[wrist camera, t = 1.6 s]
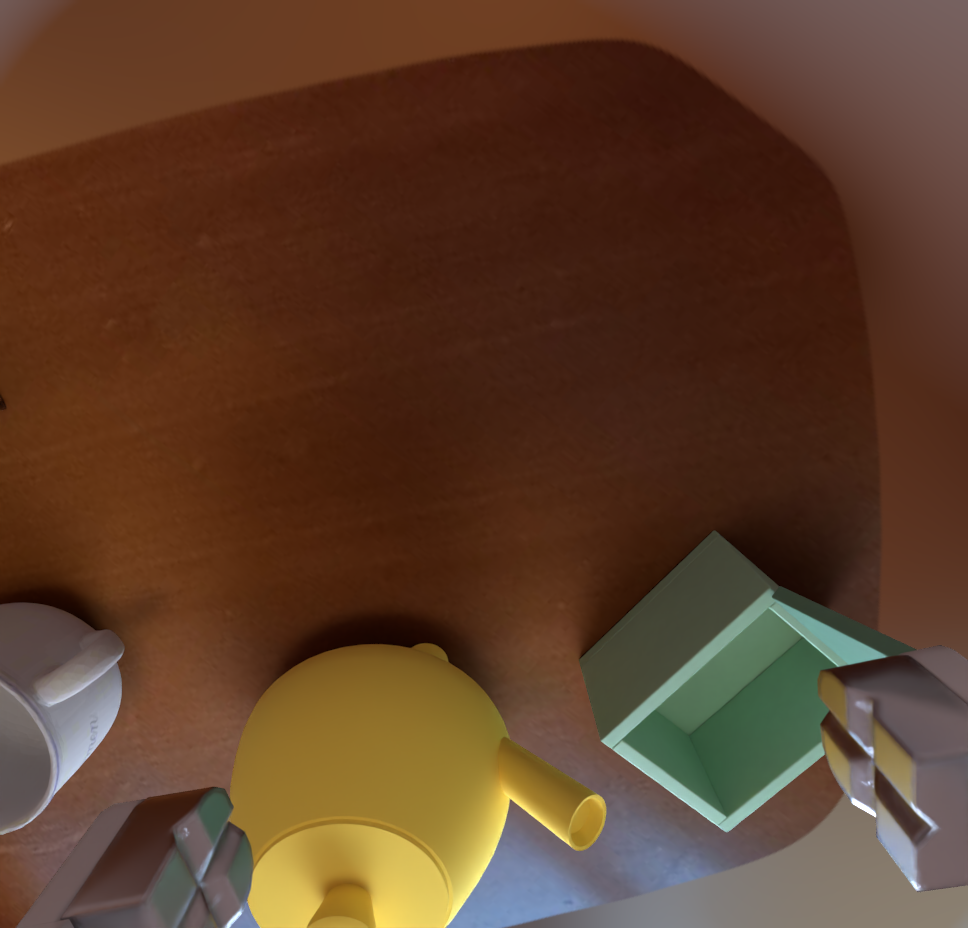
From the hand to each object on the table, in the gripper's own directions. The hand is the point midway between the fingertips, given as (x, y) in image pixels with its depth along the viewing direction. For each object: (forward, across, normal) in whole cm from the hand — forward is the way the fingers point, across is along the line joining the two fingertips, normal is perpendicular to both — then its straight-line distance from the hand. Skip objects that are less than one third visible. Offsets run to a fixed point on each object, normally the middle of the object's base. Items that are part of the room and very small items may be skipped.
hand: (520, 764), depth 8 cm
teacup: (+25, +28, +9) cm, 38 cm away
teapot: (+25, +8, +18) cm, 32 cm away
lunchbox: (+25, -10, +17) cm, 31 cm away
